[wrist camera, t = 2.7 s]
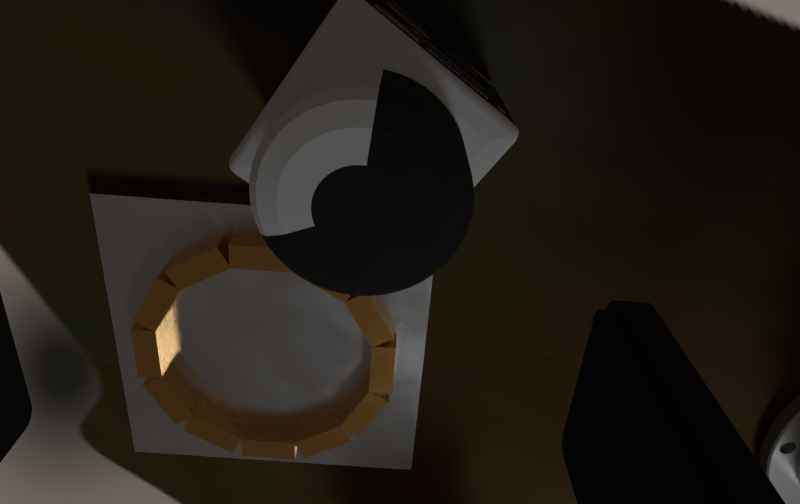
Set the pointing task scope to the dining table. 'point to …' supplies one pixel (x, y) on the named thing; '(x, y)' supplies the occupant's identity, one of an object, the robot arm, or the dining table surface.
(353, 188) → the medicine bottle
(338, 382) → the white square ringed board
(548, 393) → the dining table surface
